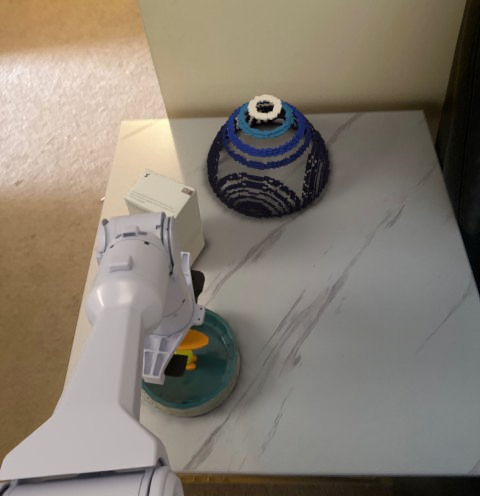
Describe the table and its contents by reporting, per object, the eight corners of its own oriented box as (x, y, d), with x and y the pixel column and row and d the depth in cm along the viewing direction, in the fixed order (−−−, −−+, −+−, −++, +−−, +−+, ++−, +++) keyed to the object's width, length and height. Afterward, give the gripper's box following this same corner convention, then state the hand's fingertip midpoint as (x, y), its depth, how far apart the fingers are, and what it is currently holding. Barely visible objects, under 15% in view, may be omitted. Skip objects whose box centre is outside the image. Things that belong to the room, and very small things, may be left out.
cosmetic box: (142, 254, 85) (118, 198, 74) (163, 223, 88) (143, 165, 77) (189, 276, 83) (172, 221, 71) (209, 243, 86) (196, 186, 74)
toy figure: (217, 351, 75) (206, 314, 65) (214, 378, 73) (202, 344, 63) (167, 348, 76) (149, 311, 66) (163, 375, 73) (143, 341, 64)
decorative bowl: (317, 228, 86) (321, 171, 74) (193, 205, 90) (179, 148, 79) (338, 132, 97) (344, 69, 86) (227, 116, 101) (219, 54, 90)
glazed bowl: (231, 425, 70) (228, 416, 66) (129, 409, 72) (121, 400, 69) (247, 324, 77) (245, 312, 74) (155, 312, 79) (149, 300, 76)
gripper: (182, 367, 52) (201, 409, 63) (211, 234, 61) (223, 290, 72) (110, 357, 53) (140, 399, 64) (149, 228, 62) (170, 284, 73)
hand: (180, 342), depth 68 cm, fingers open, 7 cm apart
